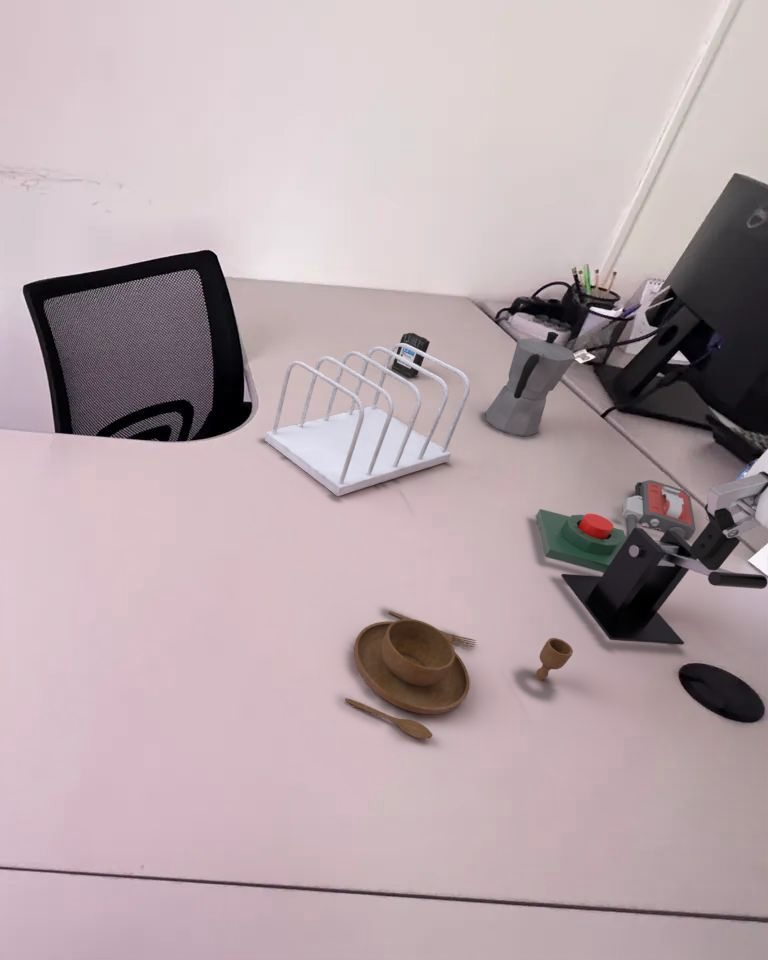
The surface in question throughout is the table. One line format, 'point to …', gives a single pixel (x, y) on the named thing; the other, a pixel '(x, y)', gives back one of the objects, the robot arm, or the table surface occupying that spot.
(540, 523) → the control box
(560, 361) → the coffeepot
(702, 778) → the table surface
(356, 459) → the file sorter
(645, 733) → the table surface
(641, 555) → the bracket
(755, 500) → the robot arm
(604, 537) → the button
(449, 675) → the place setting
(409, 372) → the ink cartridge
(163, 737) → the table surface
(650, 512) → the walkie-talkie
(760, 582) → the lever
